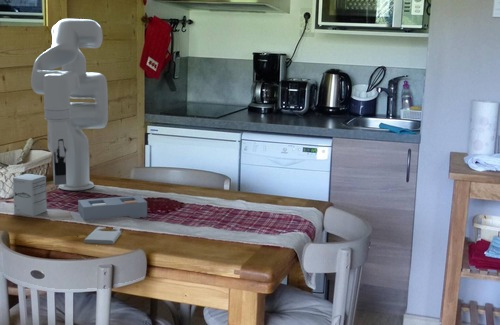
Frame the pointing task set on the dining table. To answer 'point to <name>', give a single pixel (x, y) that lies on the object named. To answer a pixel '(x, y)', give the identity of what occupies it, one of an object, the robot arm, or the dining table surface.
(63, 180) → the plug
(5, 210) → the dining table surface
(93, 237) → the external hard drive
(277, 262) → the dining table surface
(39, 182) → the supplement box
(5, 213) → the dining table surface
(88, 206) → the socket block
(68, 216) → the grey flat plate
